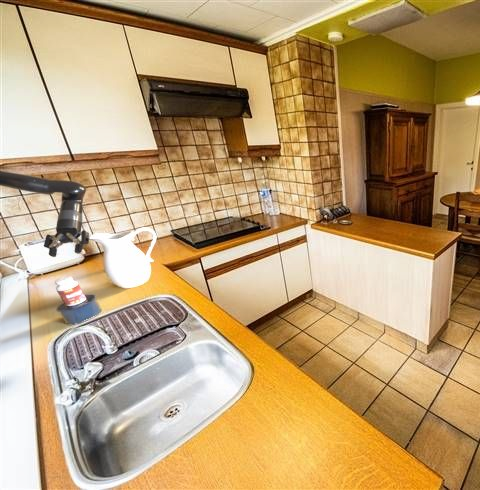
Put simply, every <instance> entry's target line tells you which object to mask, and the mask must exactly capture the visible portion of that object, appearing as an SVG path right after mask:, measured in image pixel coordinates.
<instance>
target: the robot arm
mask: <svg viewBox="0 0 480 490" xmlns="http://www.w3.org/2000/svg"><path fill="white" fill-rule="evenodd" d="M0 186H1V187H6V188H10V189H14V190H19V191H23V192H24V191H25V192H28V193H33V194H41V195H46V196H47V195H48V196H50V195H51V196H52V195H53V194H55V193H58V194H61V204H60V207H59V213H58V215H57V219H56V227H55V232H56V233H55V234H49V233H48V234H46V235H45V239H44V243H43V248H46V249H48V255H49V256H50V257H52V258H56V257H57V254H58V253H57V252H58V248H59V247H61V246H63V245H64V244H72V243H75V244H74V253H75V254H78V255H79V254H81V253H82V252H83V246H84V245H88V244H89V243H90V240H89V238H90V233H89V232H88V231H87V230H85V229H83V230H82V226H83V211H84V205H83V202H84V197H85V195H86V193H87V188H86V187H85V185H83V184H82V183H80V182H77V181H73V180H66V179H65V180H63V179H49V178H44V177H40V176H34V175H28V174H23V173H17V172H10V171H5V170H0ZM79 238H81V239H79Z"/></svg>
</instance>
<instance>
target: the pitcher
mask: <svg viewBox="0 0 480 490" xmlns="http://www.w3.org/2000/svg"><path fill="white" fill-rule="evenodd" d="M141 232H149V233H150V234H151V235H152V236H151V237H152V239H151V243H150V245H149V247H148V249H147V252H146V254H145V253H144V252H143V251H142V250H141V249H140V248H139V247H137V246H136V244H134V243H133V242H134V241H135V236H136V235H137V234H139V233H141ZM157 238H158V237H157V233H156V232H155V230H153V229H152V228H150V227H147V226H145V227H144V226H143V227H139V228H137V229H135V230H134V231H132V230H125V231H122V232H119V233H106V232H105V233H104V232H103V233H102V232H97V233H94V234H92V235H90V236H89V241H92V242H96V243H99V244H100V245H101V246H102V249H103V258H102V262H103V263H102V265H103V266H102V267H103V272H104V274H105V276H106V277H107V279H108V280H109V281H110V282H111V283H112V284H113V285H115V286H117V287H119V288H121V289H131V288H136V287H139V286H141V285H143V284H145V283H146V282H148V281H149V279H150V277H151V275H152V274H151V273H152V266H151V263H154V262H155V260H154V259H153V258H151V253H152V250H153V248H154V246H155V245H156V241H157Z"/></svg>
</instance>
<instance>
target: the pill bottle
mask: <svg viewBox="0 0 480 490" xmlns="http://www.w3.org/2000/svg"><path fill="white" fill-rule="evenodd" d="M54 284H55V285H56V287H55V290H56V292H57V294H58V295H59V297H60V299H61V301H62V303H64V304H65V305H66V306H73V305H77V304H79V303H81V302H83V301H85V300H86V297H85V295H86V294H85V293H84V291H83V289H82V288H81V286H80V283H79V282H78V281H76V280H74V278H73V276H70V275H68V276H63V277H60V278H57V279H56V280H54Z"/></svg>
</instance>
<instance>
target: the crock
mask: <svg viewBox="0 0 480 490" xmlns="http://www.w3.org/2000/svg"><path fill="white" fill-rule="evenodd" d="M84 295H85V297H86V300H85V301H83V302H81V303H79V304H77V305H73V306H66V305H65V304H64V302H61V304H59V305H57V307H56V309H55V310H56V312H58V313H59V315H60V316H61V317H62V319H63V320H64V322H65V324H67V325H69V324H73V325H76V324H75V323H78V324H80V323H79V322H82V321H84V320H86V319H89V318H91V317H93V316H95V315H97V314H98V315H100V314H101V313H102V312H103V308H102V307H101V306H100V303H99V302H98V300H97V296H96V295H95V294H93V293H90V294H84ZM99 313H100V314H99ZM98 315H97V316H98ZM95 317H96V316H95ZM82 323H83V322H82Z"/></svg>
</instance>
